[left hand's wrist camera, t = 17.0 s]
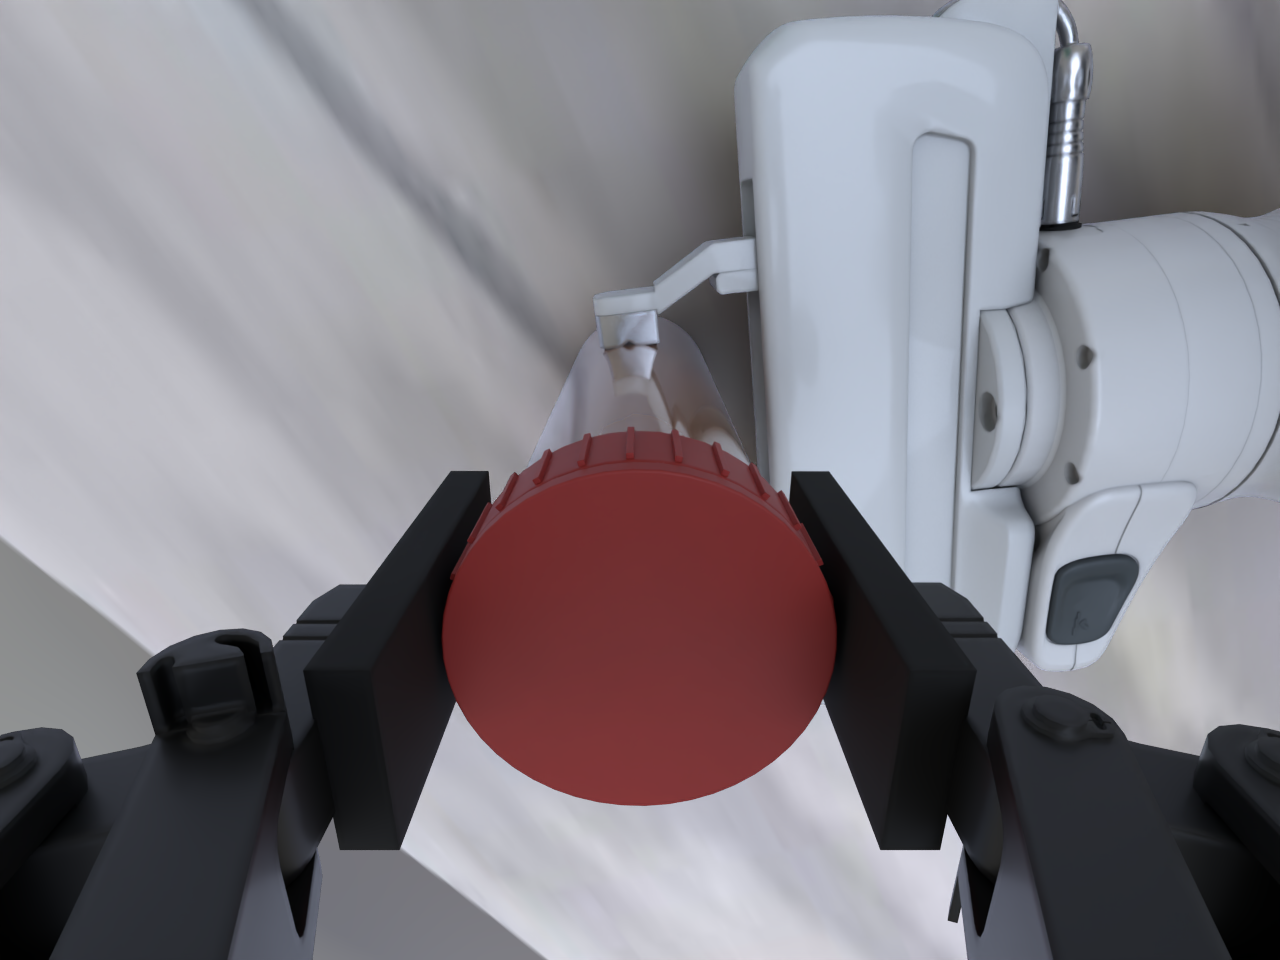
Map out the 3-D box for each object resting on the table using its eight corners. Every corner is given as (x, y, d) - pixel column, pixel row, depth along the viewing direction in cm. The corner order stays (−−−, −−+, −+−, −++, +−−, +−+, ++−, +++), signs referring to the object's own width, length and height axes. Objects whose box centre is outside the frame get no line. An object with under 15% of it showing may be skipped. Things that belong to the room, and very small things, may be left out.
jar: (585, 300, 26) (493, 440, 10) (720, 328, 27) (850, 508, 10) (563, 431, 28) (454, 734, 12) (690, 455, 29) (758, 782, 12)
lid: (426, 675, 13) (392, 749, 11) (525, 369, 11) (503, 400, 9) (729, 767, 13) (743, 850, 12) (874, 497, 11) (917, 549, 10)
